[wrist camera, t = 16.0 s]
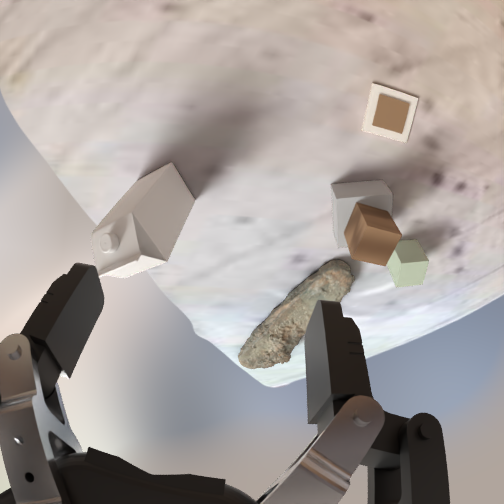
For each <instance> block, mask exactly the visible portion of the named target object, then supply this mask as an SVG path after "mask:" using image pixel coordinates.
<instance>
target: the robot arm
mask: <svg viewBox="0 0 504 504" xmlns="http://www.w3.org/2000/svg"><path fill="white" fill-rule="evenodd" d="M103 305H104V294H103V290H102V287H101V283H100V279H99V275H98V272H97V268H96V267H95V266H93V265H88V264H82V263H75V264H74V265H73V267H72V268H71V269H70V271H69V272H68V274H63V275H62V276H60V277H59V278H58V279H57V280H56V281H54V282H53V283H52V285H51V286H50V288H49V289H48V291H47V293H46V294H45V295H44V296H43V298H42V300H41V302H40V303H39V304H38V306H37V307H36V309H35V310H34V312H33V313H32V315H31V317H30V318H29V320H28V321H27V323H26V325H25V326H24V328H23V330H22V331H21V333H20V334H12V335H9V336H7V337H6V338H5V339H4V340H3V341H2V342H1V343H0V447H1V451H2V455H3V460H4V464H5V468H6V471H7V475H8V479H9V482H10V486H11V488H9V489H8V490H6V491H4V492H3V493H1V494H0V504H338V502H339V501H340V500H341V498H342V497H343V496H344V494H345V493H346V491H347V490H348V488H349V485H350V481H349V480H350V478H351V476H352V474H353V473H354V471H355V470H356V468H357V467H358V466H359V464H361V465H365V466H368V504H450V496H449V482H448V471H447V462H446V454H445V447H444V440H443V433H442V428H441V425H440V423H439V421H438V420H437V419H436V418H435V417H434V416H432V415H431V414H428V413H419V414H416V415H414V416H413V417H412V418H411V419H409V418H405V417H401V416H398V415H394V414H390V413H388V412H386V411H384V410H383V409H382V407H381V405H380V404H379V403H378V402H377V401H376V400H374V399H373V396H372V392H371V387H370V381H369V376H368V370H367V365H366V359H365V356H364V349H363V345H362V339H361V335H360V330H359V328H358V327H357V325H356V324H355V322H354V321H353V319H352V318H347V317H343V313H342V308H341V304H340V302H337V301H327V300H318V301H317V302H316V305H315V307H314V310H313V313H312V315H311V318H310V320H309V323H308V325H307V328H306V333H305V360H306V381H307V406H308V424H318V434H317V435H316V436H315V437H314V438H313V440H312V441H311V442H310V443H309V444H308V446H307V447H306V448H305V449H304V450H303V452H302V453H301V454H300V455H299V456H298V458H296V460H295V461H294V462H293V463H292V464H291V465H290V466H289V467H288V469H287V470H286V471H285V472H284V473H283V474H282V475H281V476H280V477H279V478H278V479H277V480H276V481H275V482H274V483H273V484H272V485H271V486H270V487H269V488H268V489H267V490H266V491H265V492H264V493H263V494H262V495H261V496H260V497H259V498H258V499H257V500H256V501H255V500H254V499H252V498H251V497H250V496H248V495H247V494H245V493H244V492H242V491H240V490H239V489H236V488H234V487H232V486H229V485H227V484H225V479H218V478H211V477H204V476H197V475H192V474H181V475H152V474H149V473H147V472H145V471H143V470H141V469H139V468H137V467H136V466H134V465H132V464H130V463H128V462H127V461H125V460H123V459H121V458H120V457H117V456H114V455H110V454H108V453H105V452H102V451H99V450H96V449H93V448H90V447H89V448H88V451H87V452H83V451H82V449H81V446H80V444H79V442H78V440H77V438H76V436H75V435H74V433H73V432H72V430H71V427H70V425H69V422H68V419H67V415H66V412H65V408H64V404H63V401H62V397H61V393H60V389H59V385H58V383H57V380H58V378H59V376H62V377H65V378H68V379H70V377H71V375H72V373H73V370H74V368H75V366H76V364H77V361H78V359H79V357H80V354H81V353H82V350H83V348H84V346H85V344H86V342H87V340H88V338H89V336H90V334H91V332H92V329H93V327H94V325H95V323H96V321H97V319H98V317H99V315H100V313H101V312H102V309H103Z"/></svg>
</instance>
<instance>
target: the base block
mask: <svg viewBox="0 0 504 504" xmlns="http://www.w3.org/2000/svg"><path fill="white" fill-rule="evenodd" d="M331 199H332V219H333V232H334V236H335V240H336V243H337V247H338V248H345V247H348V245H347V242H346V239H345V236H344V230H345V228H346V226H347V223H348V221H349V219H350V216H351V214H352V211H353V209H354V206H355V204H356V202H358V203H361V204H365V205H368V206H372V207H375V208H379V209H382V210H386V211H388V212H389V214H390V216H391V217H392V204H393V193H392V192H391V191H390V189H389V188H388V186H387V185H386V184H385V182H384V181H383V180H373V181H360V182H348V183H337V184H331Z"/></svg>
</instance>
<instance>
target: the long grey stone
mask: <svg viewBox="0 0 504 504" xmlns="http://www.w3.org/2000/svg"><path fill="white" fill-rule="evenodd" d="M350 273H351V269H350V267H349V265H348V264H347V263H345V262H343V261H341V260H332V261H329V262H328V263H326V264H325V265H323V266H321V268H319V270H318V271H317V272H316V273H314V274H312V275H311V276H309V277H308V278H307V279H306V280H305V281H304V282H303V283H301V284H300V285H299V286H298V287H297V288H295V289H294V290H293V291H291V292H290V293H289V294H288V296H286V299H285V300H284V301H283V302H282V303H281V304H280V306H279V307H277V308H274V309H273V310H272V311H271V314H270V315H269V316H268V318H267V319H265V321H264V322H263V323H262V324H261V325H259V326H258V327H257V328H256V329H255V330H254V331H253V332H252V334H251V336H250V337H249V338H248V339H247V341H246V343H245V345H244V346H243V347H242V348H241V352H240V353H239V355H238V358H239V362H240V364H241V365H242V366H244V367H246V368H250V369H256V368H261V367H262V368H268V367H272V366H274V365H275V364H277V363H280V362H281V363H282V364H283V363H284V362H288V361H289V359H290V358H291V355H290V353H291V352H292V350H293V349H294V347H295V346H296V345H297V344H298V343H299V340H300V339H301V337H302V336H304V334H305V333H306V328H307V325H308V323H309V320H310V318H311V315H312V313H313V310H314V307H315V305H316V302H317V301H318V300H327V301H337V302H341V300H342V297H343V296H344V295H346V294H347V293H348V292H350V287H351V285H352V283H353V282H354V281H355V279H354V276H353V275H351V274H350Z"/></svg>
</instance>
